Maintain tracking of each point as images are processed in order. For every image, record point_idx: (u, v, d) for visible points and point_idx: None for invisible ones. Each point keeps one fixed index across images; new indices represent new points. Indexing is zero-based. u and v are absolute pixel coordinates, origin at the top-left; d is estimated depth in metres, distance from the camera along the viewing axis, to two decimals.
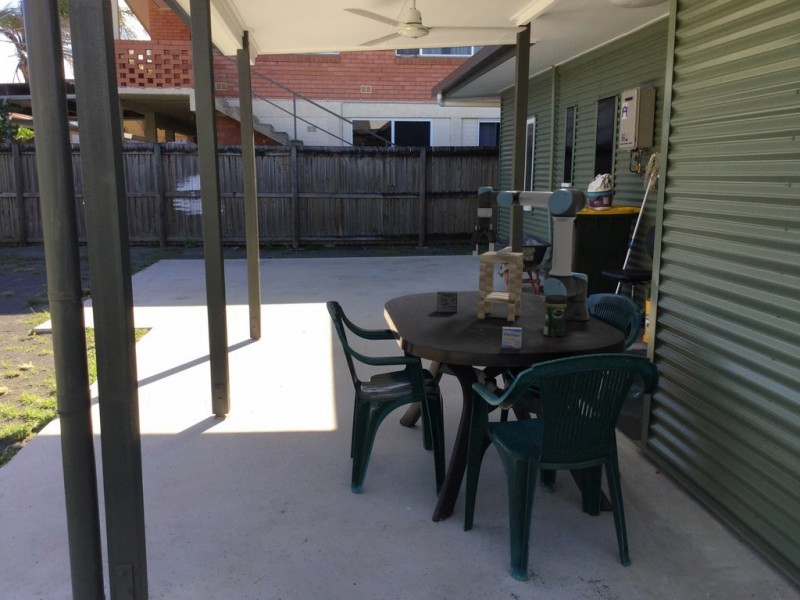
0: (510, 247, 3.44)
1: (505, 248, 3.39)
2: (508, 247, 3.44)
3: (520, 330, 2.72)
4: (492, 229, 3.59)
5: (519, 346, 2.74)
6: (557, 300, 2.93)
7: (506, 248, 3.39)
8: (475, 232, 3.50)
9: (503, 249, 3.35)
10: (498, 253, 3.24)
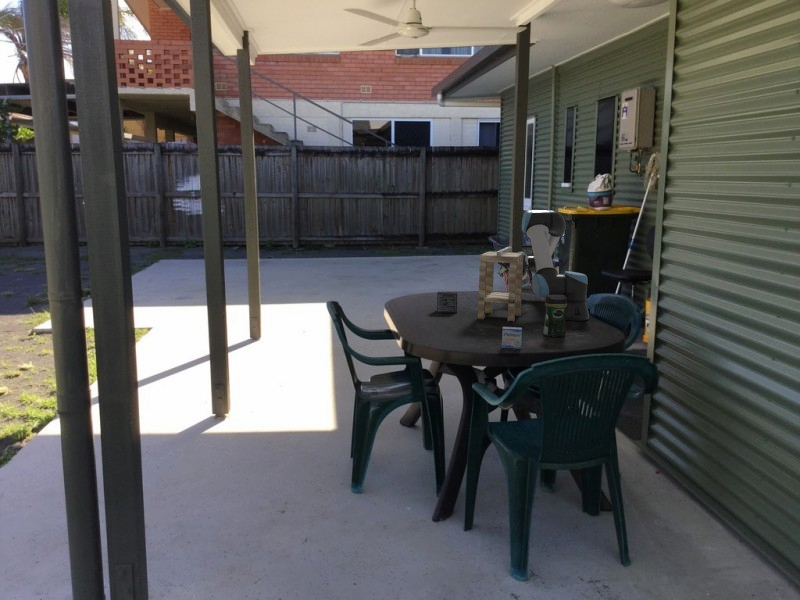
0: (510, 247, 3.44)
1: (505, 248, 3.39)
2: (508, 247, 3.44)
3: (520, 330, 2.72)
4: (528, 265, 3.70)
5: (519, 346, 2.74)
6: (557, 300, 2.93)
7: (506, 248, 3.39)
8: None
9: (503, 249, 3.35)
10: (498, 253, 3.24)
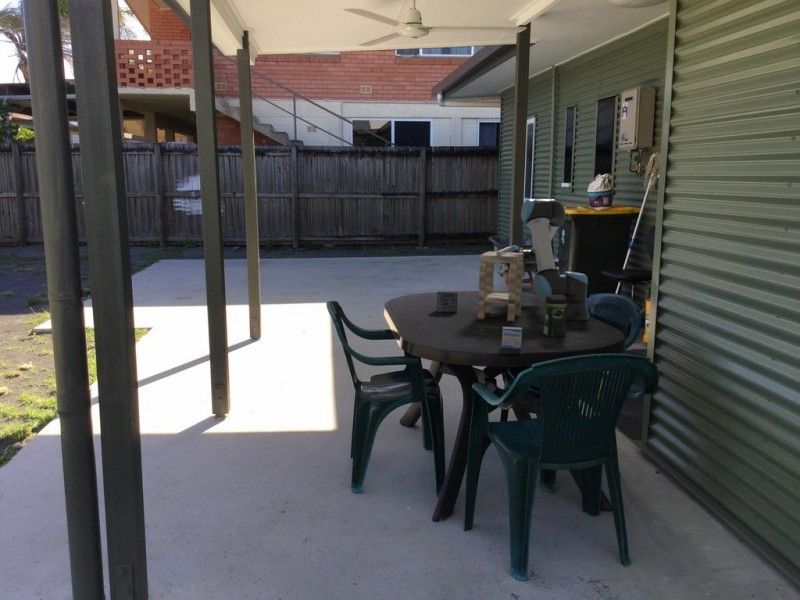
0: (510, 247, 3.44)
1: (505, 248, 3.39)
2: (508, 247, 3.44)
3: (520, 330, 2.72)
4: (523, 259, 3.56)
5: (519, 346, 2.74)
6: (557, 300, 2.93)
7: (506, 248, 3.39)
8: None
9: (503, 249, 3.35)
10: (498, 253, 3.24)
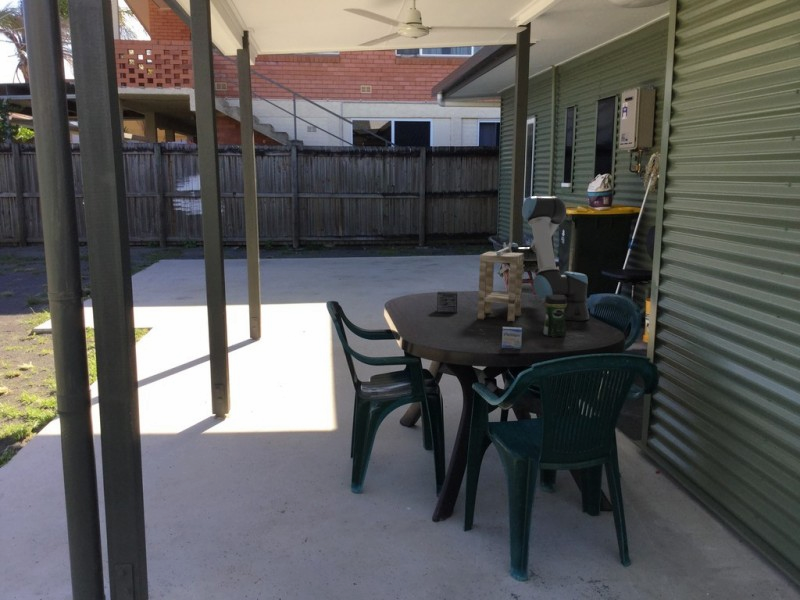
0: None
1: (505, 248, 3.39)
2: None
3: (520, 330, 2.72)
4: None
5: (519, 346, 2.74)
6: (557, 300, 2.93)
7: (506, 248, 3.39)
8: None
9: (503, 249, 3.35)
10: (498, 253, 3.24)
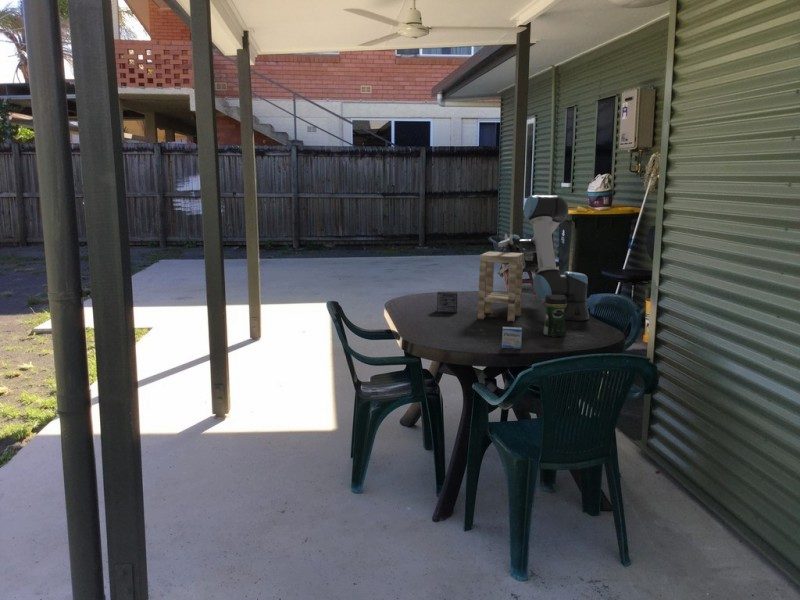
0: None
1: None
2: None
3: (520, 330, 2.72)
4: None
5: (519, 346, 2.74)
6: (557, 300, 2.93)
7: None
8: None
9: (504, 240, 3.37)
10: (500, 244, 3.26)
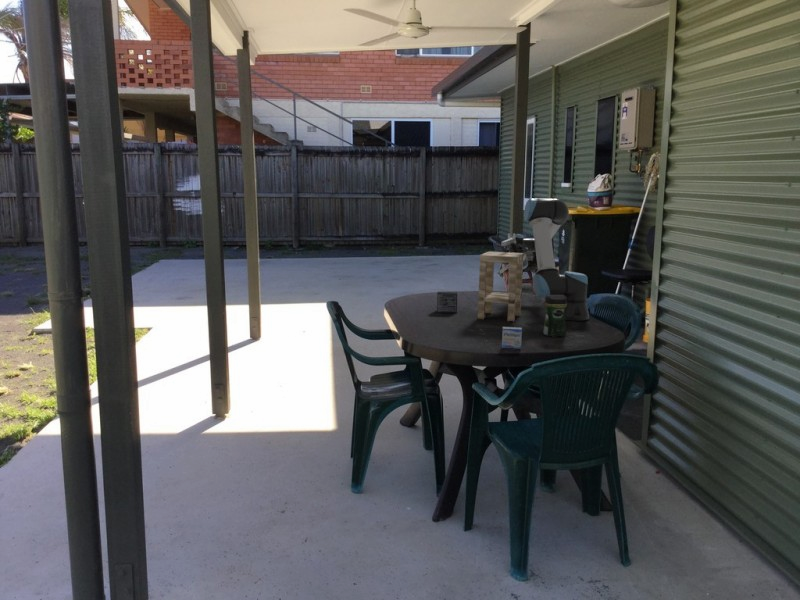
0: None
1: None
2: (512, 238, 3.53)
3: (520, 330, 2.72)
4: None
5: (519, 346, 2.74)
6: (557, 300, 2.93)
7: None
8: None
9: None
10: (503, 243, 3.33)
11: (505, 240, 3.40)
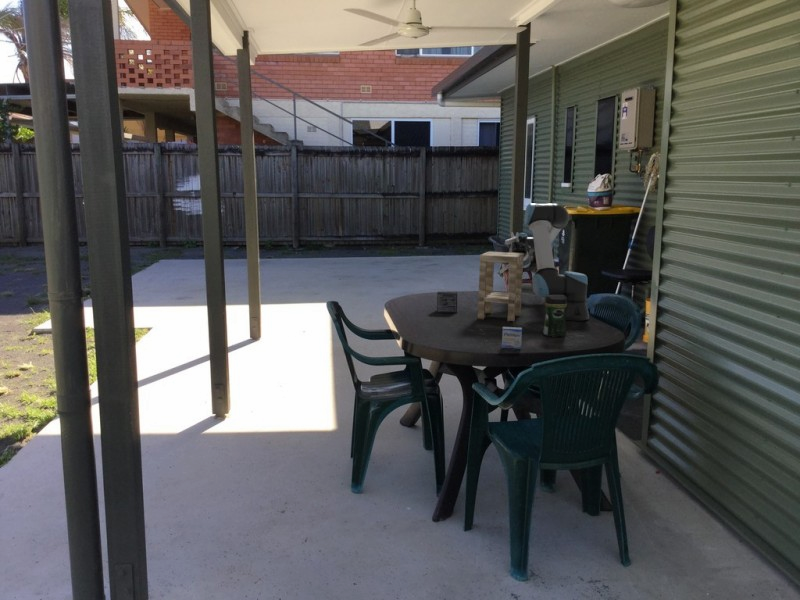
0: None
1: None
2: None
3: (520, 330, 2.72)
4: None
5: (519, 346, 2.74)
6: (557, 300, 2.93)
7: (514, 237, 3.55)
8: None
9: (511, 238, 3.50)
10: (506, 242, 3.40)
11: (508, 239, 3.47)
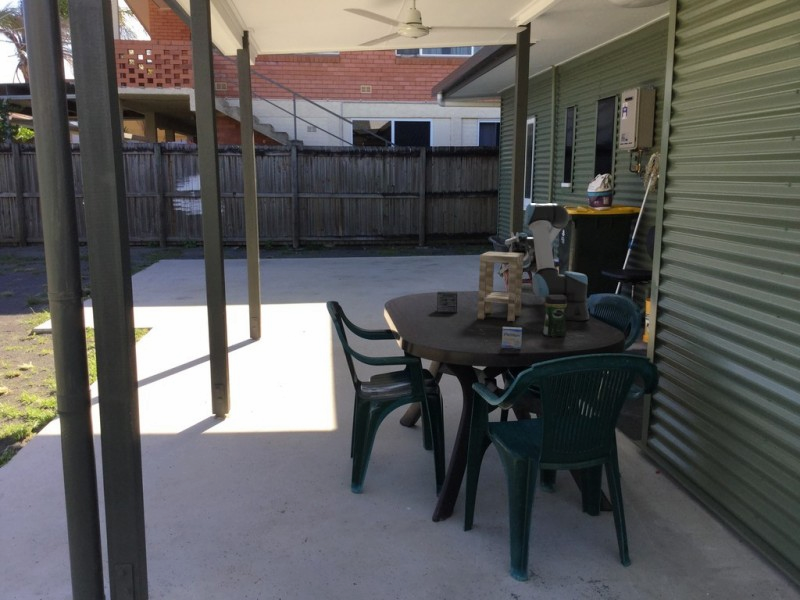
0: None
1: None
2: None
3: (520, 330, 2.72)
4: None
5: (519, 346, 2.74)
6: (557, 300, 2.93)
7: (514, 237, 3.55)
8: None
9: (511, 238, 3.50)
10: (506, 242, 3.40)
11: (508, 239, 3.47)
